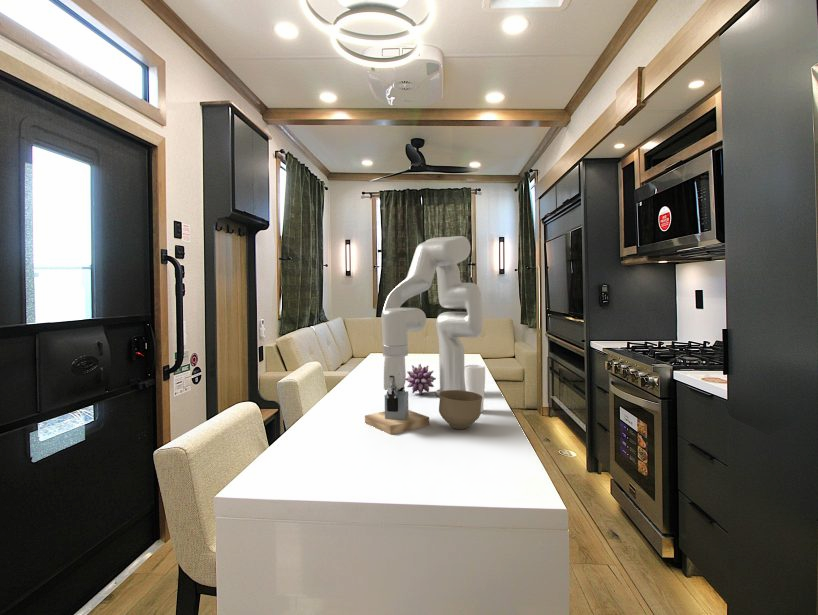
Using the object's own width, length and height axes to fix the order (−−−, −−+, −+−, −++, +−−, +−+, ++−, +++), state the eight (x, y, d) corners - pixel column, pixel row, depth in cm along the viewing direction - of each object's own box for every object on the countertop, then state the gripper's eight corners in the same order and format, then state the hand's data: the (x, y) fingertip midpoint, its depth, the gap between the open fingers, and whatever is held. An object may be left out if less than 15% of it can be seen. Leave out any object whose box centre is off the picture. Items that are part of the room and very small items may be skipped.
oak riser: (402, 416, 149) (402, 407, 149) (429, 426, 138) (429, 417, 137) (365, 425, 141) (364, 415, 141) (390, 436, 129) (390, 426, 129)
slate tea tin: (389, 413, 142) (389, 390, 142) (408, 414, 141) (408, 391, 141) (385, 418, 136) (384, 395, 136) (404, 419, 135) (404, 396, 135)
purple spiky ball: (405, 391, 183) (404, 361, 182) (435, 390, 182) (434, 360, 182) (404, 398, 171) (404, 366, 171) (437, 397, 171) (436, 365, 170)
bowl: (481, 435, 127) (481, 399, 127) (436, 433, 130) (435, 398, 129) (483, 421, 140) (483, 389, 139) (442, 420, 142) (441, 388, 142)
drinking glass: (484, 408, 154) (484, 364, 154) (486, 414, 148) (485, 368, 147) (464, 408, 155) (464, 364, 154) (465, 414, 148) (464, 368, 148)
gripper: (389, 346, 147) (391, 399, 148) (375, 354, 130) (376, 414, 131) (412, 347, 146) (413, 400, 147) (401, 355, 129) (402, 415, 130)
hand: (396, 406), depth 139 cm, fingers open, 9 cm apart
